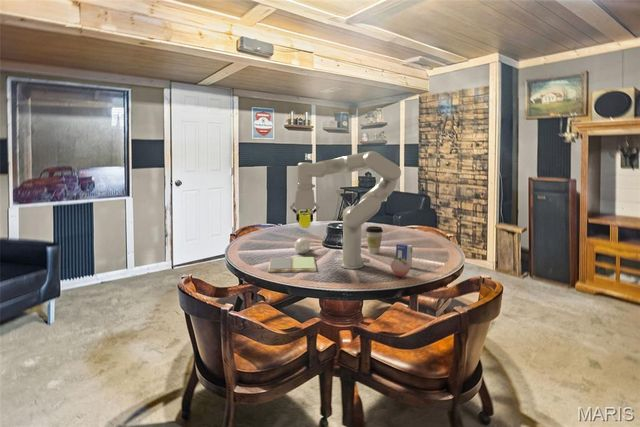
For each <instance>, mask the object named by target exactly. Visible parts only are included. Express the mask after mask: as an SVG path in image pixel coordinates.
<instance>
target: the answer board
mask: <svg viewBox="0 0 640 427" xmlns="http://www.w3.org/2000/svg"><path fill="white" fill-rule="evenodd" d="M267 272H268V273H312V272H314V273H315V272H316V273H317V265H316V260H315V256H300V257H299V256H298V257H297V256H295V257H291V256H290V257H289V256H288V257H287V256H286V257H278V256H277V257H270V260H269V264H268V270H267Z"/></svg>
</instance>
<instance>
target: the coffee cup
mask: <svg viewBox="0 0 640 427" xmlns="http://www.w3.org/2000/svg"><path fill="white" fill-rule="evenodd" d="M365 232H366V240H367V250H368V254H371V255H378V254H379V253H380V248H381V242H382V233H383V232H384V230H383V228H382V227H381V226H375V225H374V226H372V225H371V226H367V227H366V229H365Z"/></svg>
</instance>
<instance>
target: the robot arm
mask: <svg viewBox="0 0 640 427" xmlns="http://www.w3.org/2000/svg"><path fill="white" fill-rule="evenodd" d="M296 170H297V174H296V175H297V178H296V182H297V185H296V187H297V188H296V189H295V194H294V202H292V204H291V205H290V206H289V210H291V211H292V212H293V213H294V214H295V220H296V221H297V223H299V211H301V210H306V209H309V210H310V220H311V223H312V222H313V221H314V214H315V213H317V211H319V209H320V206H319V205H318V204H317V203H316V201H315V200H316V199H315V192H314V189H313V188H316V184H313V178H320V179H321V178H324V177H326V176H327V175H333V174H340V173H341V174H349V173H353V172H358V171H363V170H372V171H373V172H374V173H376V174H377V175H379V176H380V180H379V181H378V182H377V184H376V185H375V186H373V187H372V188H371V189H370V190H369V191H367V192H366V193H365V194H363V195H362V196H361V197H360V199H359V202H358V203H357V204H356V205H349V206H346V207H345V209H344V210H343V211H342V212H343V213H342V231H343V237H342V260H341V261H340V262H339V266H340V267H341V268H344V269H348V270H351V269H352V270H359V269H361V268H363V267H364V266H365V265H364V263H370V262H371V261H370V260H371V259H370V258H367V257H365V258H364V257H362V225H363V224H365V223H366V222H367V221H369V220H370V219H371V218H372V217H373V216H375V215H376V214H377V213H379V210H380V208H381V206H382V203H383V201H385V200H386V199H387V198H388V197H390V196H391V194H392V193H393V192H394V191H395V188H396V186H397V182H398V180H399V179H400V177H401V175H402V170H401V168H400V166H399V165H397V164H396V163H394V162H393V161H391V160H389V159H388V158H387V157H385V156H383V155H382V154H380V153H379V152H378V151H377V152H376V151H374V150H371V151H370V150H369V151H365V152H359V153H354V154H350V155H349V154H348V155H345V156H344V155H343V156H340V157H337V158H331V159H326V160H321V161H317V162H314V163H313V162H312V163H311V162H307V161H306V162H298V164H297V168H296Z"/></svg>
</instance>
